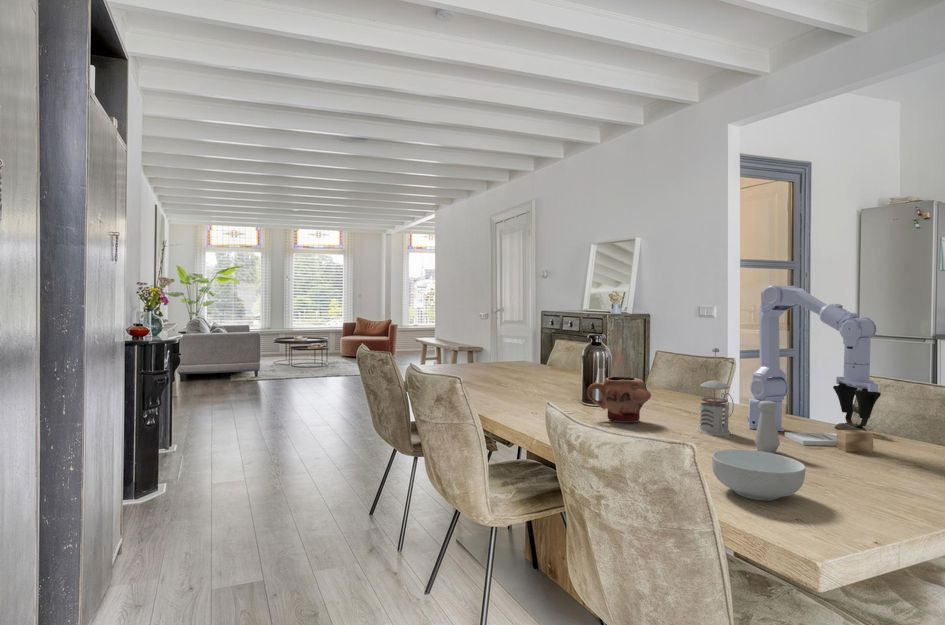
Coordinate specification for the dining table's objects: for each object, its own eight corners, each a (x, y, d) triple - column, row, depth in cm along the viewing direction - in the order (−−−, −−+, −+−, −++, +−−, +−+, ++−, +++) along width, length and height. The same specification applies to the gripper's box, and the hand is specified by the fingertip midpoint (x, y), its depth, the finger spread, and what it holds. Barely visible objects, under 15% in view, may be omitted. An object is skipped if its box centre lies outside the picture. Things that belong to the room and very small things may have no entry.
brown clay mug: (589, 423, 182) (590, 379, 182) (584, 416, 194) (584, 374, 194) (654, 425, 181) (655, 380, 181) (644, 417, 193) (645, 375, 193)
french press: (715, 427, 179) (717, 346, 179) (744, 436, 168) (746, 349, 168) (688, 429, 176) (690, 346, 176) (716, 438, 165) (718, 350, 165)
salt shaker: (778, 450, 152) (780, 400, 152) (780, 455, 147) (781, 404, 147) (754, 447, 155) (755, 398, 155) (754, 452, 150) (755, 402, 149)
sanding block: (845, 452, 152) (845, 433, 152) (836, 448, 156) (836, 429, 156) (872, 453, 152) (873, 433, 152) (863, 449, 156) (863, 430, 156)
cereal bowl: (761, 514, 106) (762, 475, 106) (693, 486, 121) (693, 452, 121) (824, 502, 113) (825, 466, 112) (752, 478, 128) (753, 445, 128)
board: (802, 444, 159) (802, 440, 159) (784, 436, 169) (784, 432, 169) (870, 446, 158) (870, 442, 158) (848, 437, 168) (848, 433, 168)
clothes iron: (856, 430, 181) (865, 400, 179) (876, 447, 170) (886, 416, 168) (833, 427, 182) (841, 397, 179) (851, 444, 171) (860, 413, 168)
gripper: (891, 367, 146) (889, 421, 146) (855, 361, 161) (853, 410, 161) (862, 366, 146) (860, 420, 147) (829, 360, 161) (827, 409, 161)
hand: (855, 415), depth 154 cm, fingers open, 7 cm apart
